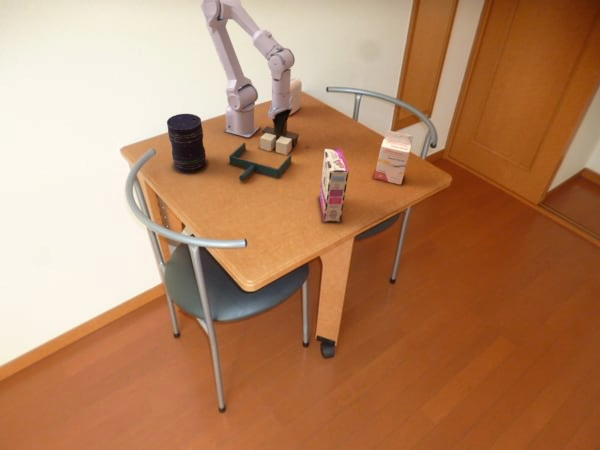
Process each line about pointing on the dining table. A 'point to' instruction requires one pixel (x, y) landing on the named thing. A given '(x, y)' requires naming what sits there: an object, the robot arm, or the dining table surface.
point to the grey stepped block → (282, 133)
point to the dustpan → (255, 165)
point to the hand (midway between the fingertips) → (280, 129)
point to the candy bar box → (333, 185)
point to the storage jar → (187, 143)
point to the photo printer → (295, 94)
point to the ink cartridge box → (393, 157)
